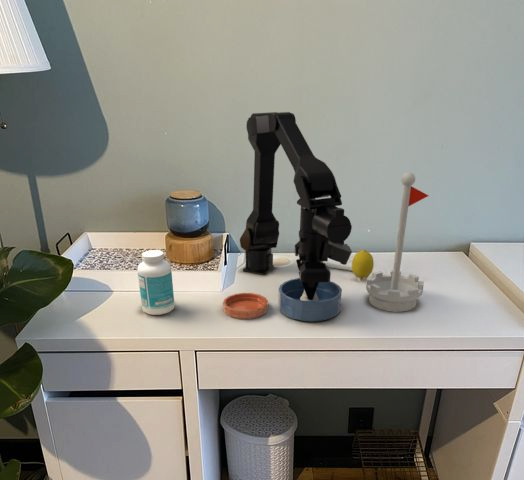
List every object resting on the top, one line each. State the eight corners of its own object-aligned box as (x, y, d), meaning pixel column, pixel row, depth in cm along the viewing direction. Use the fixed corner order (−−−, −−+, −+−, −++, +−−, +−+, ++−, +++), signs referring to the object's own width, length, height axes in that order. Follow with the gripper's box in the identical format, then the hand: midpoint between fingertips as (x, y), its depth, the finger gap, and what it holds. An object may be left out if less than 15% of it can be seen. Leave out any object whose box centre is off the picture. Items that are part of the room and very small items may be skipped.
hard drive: (322, 256, 160) (365, 262, 155) (312, 265, 153) (356, 272, 149) (323, 250, 159) (365, 257, 155) (313, 259, 153) (357, 266, 148)
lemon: (358, 285, 141) (361, 255, 137) (346, 277, 146) (348, 248, 142) (376, 281, 144) (379, 251, 140) (363, 274, 148) (366, 245, 144)
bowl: (268, 314, 126) (268, 294, 123) (293, 292, 137) (294, 273, 135) (327, 328, 120) (328, 307, 118) (348, 303, 131) (350, 284, 129)
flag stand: (375, 315, 126) (390, 180, 111) (357, 292, 137) (369, 166, 122) (429, 311, 128) (452, 178, 113) (408, 289, 139) (425, 165, 124)
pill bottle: (180, 305, 130) (176, 249, 124) (165, 318, 124) (160, 260, 118) (151, 300, 132) (146, 246, 126) (136, 313, 126) (129, 256, 120)
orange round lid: (215, 313, 126) (214, 305, 125) (237, 297, 134) (236, 289, 133) (254, 323, 122) (254, 314, 121) (275, 305, 130) (275, 297, 129)
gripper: (357, 243, 112) (351, 313, 119) (344, 217, 128) (339, 280, 135) (302, 243, 111) (299, 314, 119) (295, 217, 127) (293, 280, 135)
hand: (309, 296), depth 127 cm, fingers closed on rook chess piece, 3 cm apart
